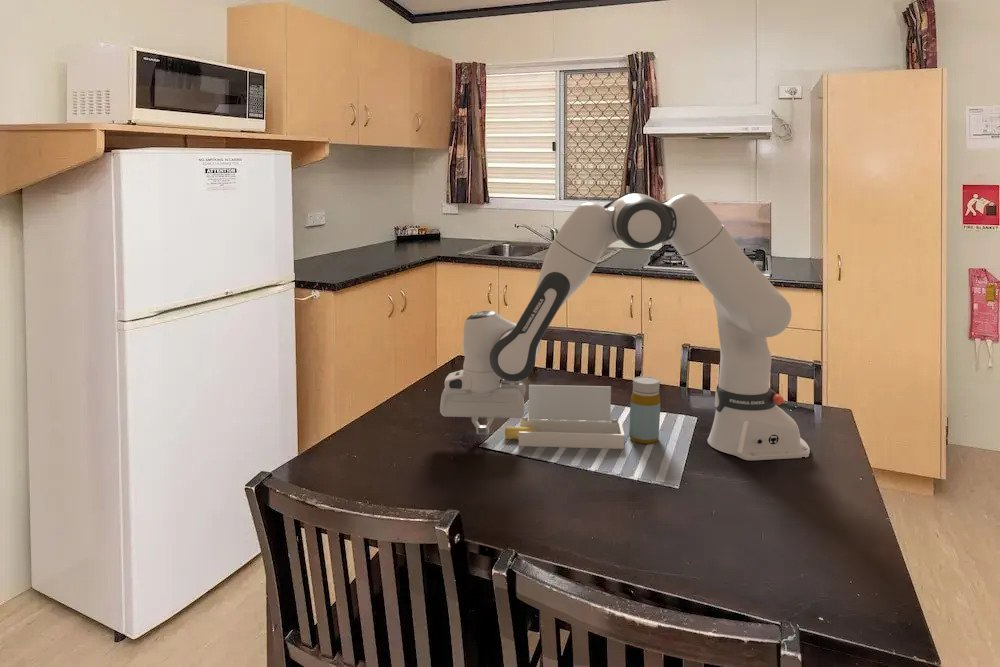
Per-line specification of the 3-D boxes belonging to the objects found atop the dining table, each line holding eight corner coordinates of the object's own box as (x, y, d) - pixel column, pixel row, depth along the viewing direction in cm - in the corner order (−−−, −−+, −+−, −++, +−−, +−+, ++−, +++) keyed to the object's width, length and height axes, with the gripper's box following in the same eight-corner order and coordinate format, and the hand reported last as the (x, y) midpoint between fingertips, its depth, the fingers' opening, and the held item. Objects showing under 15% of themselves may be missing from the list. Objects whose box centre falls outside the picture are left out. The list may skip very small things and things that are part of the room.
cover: (610, 421, 171) (609, 420, 173) (611, 386, 171) (610, 386, 172) (528, 419, 173) (528, 418, 174) (529, 385, 172) (529, 384, 174)
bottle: (658, 445, 166) (661, 385, 162) (628, 443, 167) (631, 383, 164) (658, 434, 172) (661, 376, 169) (629, 432, 174) (631, 375, 170)
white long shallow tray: (620, 434, 172) (621, 419, 172) (624, 448, 164) (624, 432, 163) (520, 432, 174) (520, 416, 174) (518, 446, 166) (518, 429, 165)
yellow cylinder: (533, 442, 170) (534, 433, 172) (533, 433, 168) (534, 424, 170) (505, 441, 170) (506, 432, 173) (504, 432, 169) (505, 423, 171)
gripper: (526, 375, 169) (526, 429, 172) (442, 374, 170) (443, 427, 173) (525, 383, 162) (525, 439, 166) (437, 382, 164) (439, 437, 167)
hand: (482, 433), depth 170 cm, fingers closed
